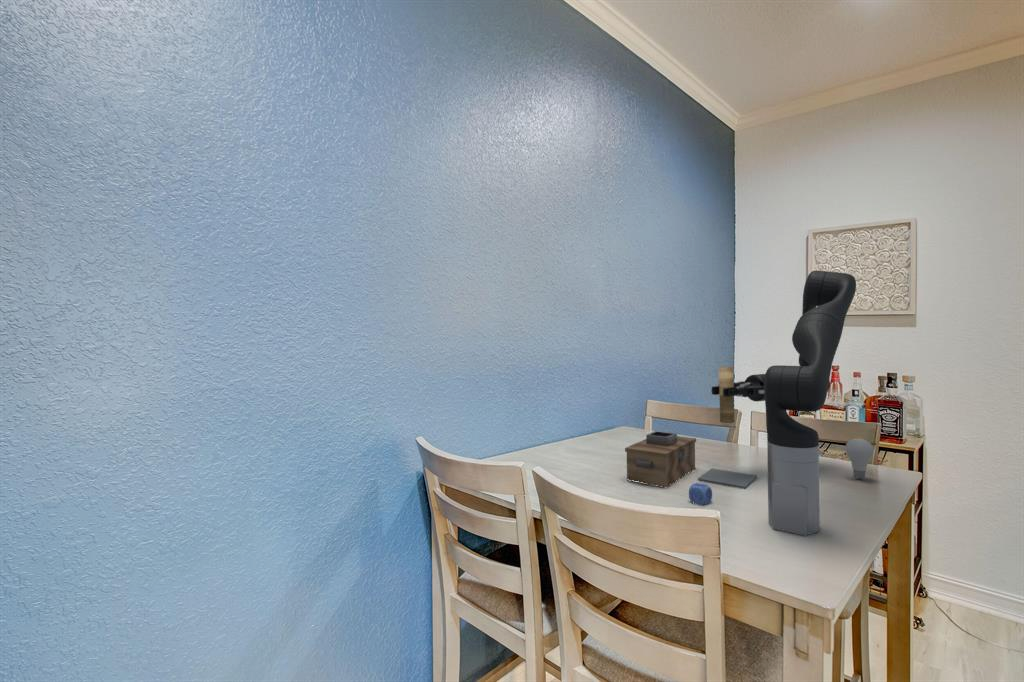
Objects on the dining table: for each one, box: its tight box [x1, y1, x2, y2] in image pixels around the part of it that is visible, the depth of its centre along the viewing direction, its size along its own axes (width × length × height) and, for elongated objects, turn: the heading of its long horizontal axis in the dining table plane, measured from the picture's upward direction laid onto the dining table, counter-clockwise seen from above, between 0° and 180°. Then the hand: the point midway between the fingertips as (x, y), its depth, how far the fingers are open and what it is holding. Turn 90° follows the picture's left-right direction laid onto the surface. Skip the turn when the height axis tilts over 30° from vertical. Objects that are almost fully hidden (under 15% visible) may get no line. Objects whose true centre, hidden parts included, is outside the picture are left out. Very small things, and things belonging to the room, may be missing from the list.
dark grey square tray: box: [645, 430, 678, 447], centre depth 138 cm, size 6×6×2 cm
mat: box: [697, 467, 758, 490], centre depth 132 cm, size 12×12×1 cm
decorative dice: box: [688, 482, 713, 506], centre depth 115 cm, size 4×4×4 cm
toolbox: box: [624, 435, 697, 488], centre depth 138 cm, size 25×12×9 cm, turn 140°
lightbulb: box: [844, 437, 874, 480], centre depth 129 cm, size 6×6×11 cm
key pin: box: [718, 365, 735, 424], centre depth 132 cm, size 4×4×15 cm
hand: (718, 391), depth 131 cm, fingers closed on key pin, 3 cm apart
